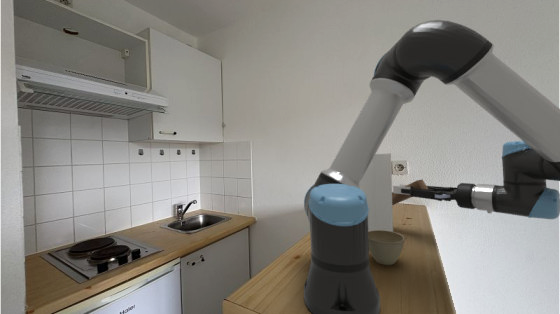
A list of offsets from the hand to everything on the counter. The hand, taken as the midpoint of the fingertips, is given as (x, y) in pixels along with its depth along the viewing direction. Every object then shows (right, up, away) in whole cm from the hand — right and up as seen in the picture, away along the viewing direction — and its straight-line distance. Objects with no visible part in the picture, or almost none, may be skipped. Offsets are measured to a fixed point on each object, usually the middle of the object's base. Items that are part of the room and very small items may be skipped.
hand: (397, 188), depth 85 cm
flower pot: (-15, -17, -22) cm, 32 cm away
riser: (-13, -17, -3) cm, 21 cm away
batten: (0, -6, 0) cm, 6 cm away
